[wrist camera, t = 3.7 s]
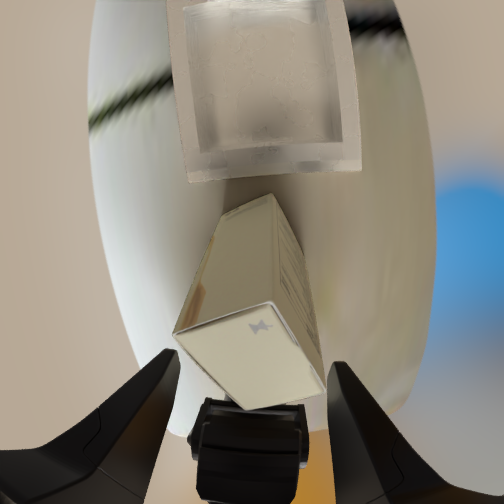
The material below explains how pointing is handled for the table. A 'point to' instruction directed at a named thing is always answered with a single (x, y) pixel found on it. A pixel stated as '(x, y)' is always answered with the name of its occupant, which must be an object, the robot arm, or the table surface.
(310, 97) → the square open tray
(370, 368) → the table surface
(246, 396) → the skincare box
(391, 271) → the table surface
